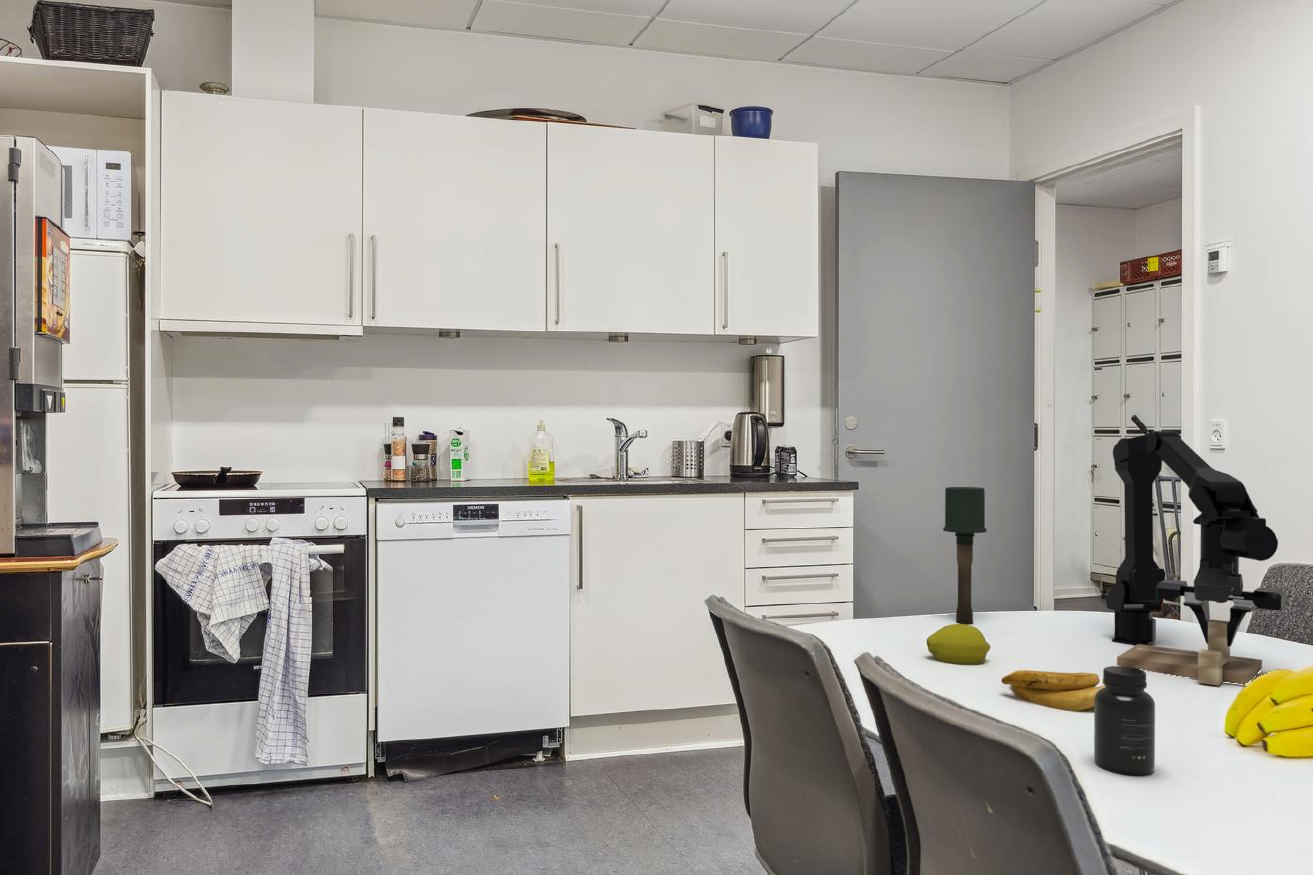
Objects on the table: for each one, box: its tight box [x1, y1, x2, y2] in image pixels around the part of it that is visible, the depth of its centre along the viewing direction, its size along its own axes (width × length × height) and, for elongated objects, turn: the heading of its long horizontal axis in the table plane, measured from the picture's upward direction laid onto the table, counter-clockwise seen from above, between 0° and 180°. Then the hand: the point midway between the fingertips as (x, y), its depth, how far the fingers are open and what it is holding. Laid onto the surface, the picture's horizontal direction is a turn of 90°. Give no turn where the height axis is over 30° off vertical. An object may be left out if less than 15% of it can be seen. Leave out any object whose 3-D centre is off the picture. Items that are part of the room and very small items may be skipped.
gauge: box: [1197, 618, 1231, 686], centre depth 169 cm, size 3×13×9 cm, turn 141°
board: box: [1116, 644, 1263, 685], centre depth 175 cm, size 20×14×2 cm
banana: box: [1000, 669, 1105, 712], centre depth 154 cm, size 15×19×6 cm
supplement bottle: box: [1093, 665, 1156, 776], centre depth 124 cm, size 7×7×12 cm
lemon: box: [926, 623, 991, 666], centre depth 175 cm, size 11×8×8 cm
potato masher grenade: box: [942, 486, 987, 626], centre depth 207 cm, size 8×9×30 cm
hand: (1218, 644), depth 170 cm, fingers closed on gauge, 3 cm apart
